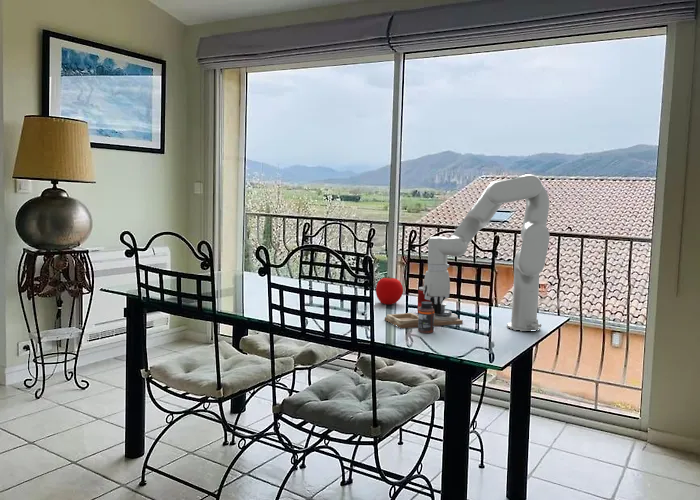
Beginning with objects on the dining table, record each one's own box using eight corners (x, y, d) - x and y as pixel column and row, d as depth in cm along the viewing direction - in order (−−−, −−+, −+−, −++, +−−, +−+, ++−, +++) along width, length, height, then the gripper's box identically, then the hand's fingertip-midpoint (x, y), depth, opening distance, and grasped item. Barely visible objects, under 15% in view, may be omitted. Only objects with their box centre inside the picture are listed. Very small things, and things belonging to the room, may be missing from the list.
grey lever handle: (443, 311, 264) (444, 301, 263) (455, 315, 258) (455, 304, 257) (415, 315, 256) (416, 304, 255) (426, 318, 250) (427, 308, 250)
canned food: (435, 316, 267) (436, 290, 265) (416, 314, 268) (417, 289, 267) (436, 312, 274) (437, 287, 273) (418, 310, 276) (419, 285, 274)
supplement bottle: (430, 329, 244) (431, 300, 242) (435, 333, 238) (437, 303, 237) (415, 329, 243) (416, 300, 241) (420, 334, 237) (422, 304, 235)
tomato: (371, 304, 285) (372, 277, 284) (380, 300, 296) (381, 273, 295) (397, 307, 281) (398, 279, 279) (405, 302, 291) (406, 275, 290)
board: (464, 323, 255) (465, 316, 255) (400, 328, 244) (400, 321, 244) (446, 315, 268) (446, 309, 268) (384, 320, 257) (384, 313, 256)
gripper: (448, 265, 258) (447, 309, 260) (416, 267, 252) (415, 313, 254) (458, 268, 251) (457, 313, 253) (425, 270, 245) (425, 316, 247)
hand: (436, 313), depth 254 cm, fingers closed
